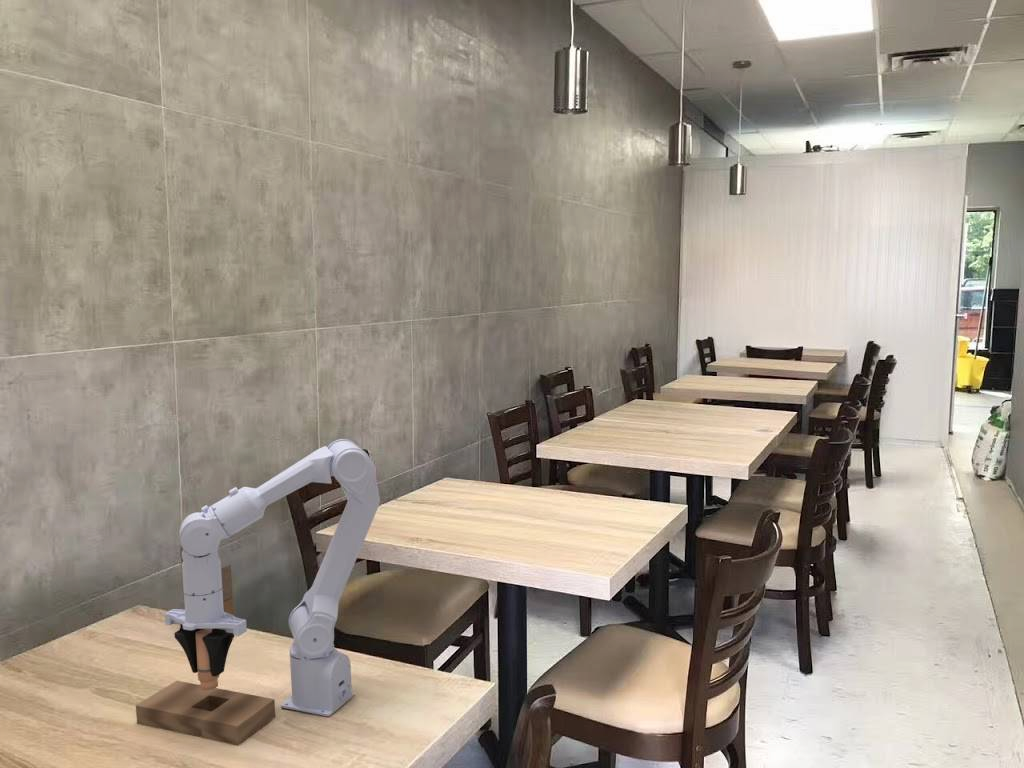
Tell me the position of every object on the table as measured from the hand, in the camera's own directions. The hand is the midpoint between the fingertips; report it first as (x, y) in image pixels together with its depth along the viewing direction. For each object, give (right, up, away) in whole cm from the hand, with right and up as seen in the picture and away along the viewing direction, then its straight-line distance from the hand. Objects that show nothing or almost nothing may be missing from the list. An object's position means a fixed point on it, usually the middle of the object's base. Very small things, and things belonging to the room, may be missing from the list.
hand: (208, 671), depth 133 cm
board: (-1, -8, +1) cm, 8 cm away
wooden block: (-14, -5, +37) cm, 40 cm away
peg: (0, -2, 0) cm, 2 cm away
